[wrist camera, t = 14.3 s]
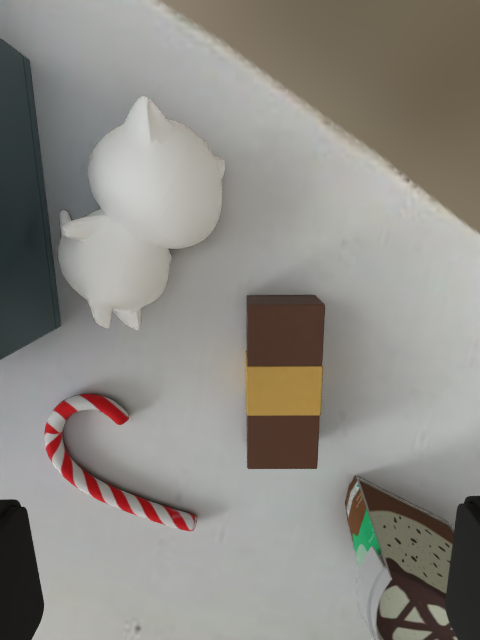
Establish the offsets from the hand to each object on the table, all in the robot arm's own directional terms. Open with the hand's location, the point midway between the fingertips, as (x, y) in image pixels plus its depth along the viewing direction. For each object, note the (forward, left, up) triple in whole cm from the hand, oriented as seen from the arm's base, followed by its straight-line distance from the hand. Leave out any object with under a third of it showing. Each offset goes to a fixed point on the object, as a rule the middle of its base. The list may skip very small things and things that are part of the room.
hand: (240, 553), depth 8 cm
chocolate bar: (+3, -4, -21) cm, 22 cm away
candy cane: (-9, -12, -21) cm, 26 cm away
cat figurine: (-7, +8, -21) cm, 24 cm away
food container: (+12, -18, -21) cm, 30 cm away
